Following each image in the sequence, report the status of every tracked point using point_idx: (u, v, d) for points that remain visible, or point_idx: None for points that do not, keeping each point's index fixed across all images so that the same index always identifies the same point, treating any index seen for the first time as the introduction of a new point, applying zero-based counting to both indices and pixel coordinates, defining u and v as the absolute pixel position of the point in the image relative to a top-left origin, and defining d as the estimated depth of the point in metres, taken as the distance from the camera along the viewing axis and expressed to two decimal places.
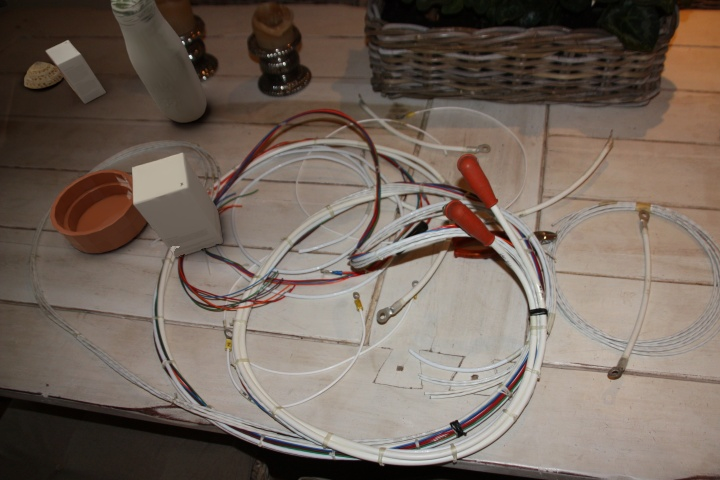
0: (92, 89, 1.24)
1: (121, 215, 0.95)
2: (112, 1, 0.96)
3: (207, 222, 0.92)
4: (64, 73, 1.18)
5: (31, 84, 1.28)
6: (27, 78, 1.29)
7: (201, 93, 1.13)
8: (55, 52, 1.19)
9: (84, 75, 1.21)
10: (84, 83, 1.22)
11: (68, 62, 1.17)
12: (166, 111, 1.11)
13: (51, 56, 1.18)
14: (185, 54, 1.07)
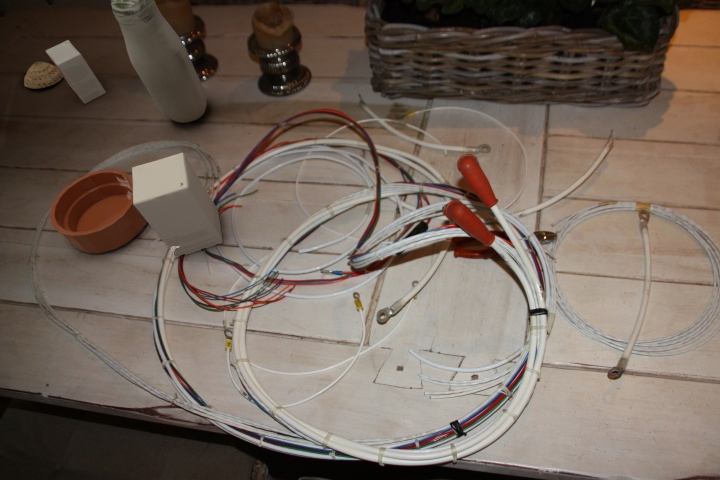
0: (92, 89, 1.24)
1: (121, 215, 0.95)
2: (112, 1, 0.96)
3: (207, 222, 0.92)
4: (64, 73, 1.18)
5: (31, 84, 1.28)
6: (27, 78, 1.29)
7: (201, 93, 1.13)
8: (55, 52, 1.19)
9: (84, 75, 1.21)
10: (84, 83, 1.22)
11: (68, 62, 1.17)
12: (166, 110, 1.11)
13: (51, 56, 1.18)
14: (185, 54, 1.07)
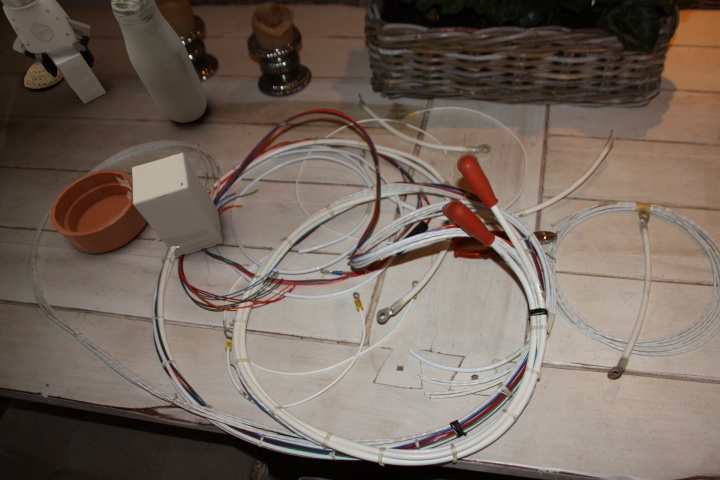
0: (92, 89, 1.24)
1: (121, 215, 0.95)
2: (112, 1, 0.96)
3: (207, 222, 0.92)
4: (64, 73, 1.18)
5: (31, 84, 1.28)
6: (27, 78, 1.29)
7: (201, 93, 1.13)
8: (55, 52, 1.19)
9: (84, 75, 1.21)
10: (84, 83, 1.22)
11: (68, 62, 1.17)
12: (166, 110, 1.11)
13: (51, 56, 1.18)
14: (185, 54, 1.07)
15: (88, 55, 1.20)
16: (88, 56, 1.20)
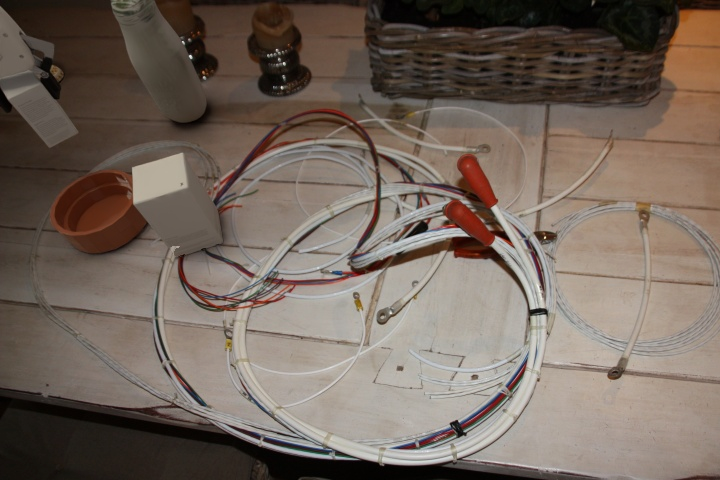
0: (59, 129, 0.92)
1: (121, 215, 0.95)
2: (112, 1, 0.96)
3: (207, 222, 0.92)
4: (18, 109, 0.86)
5: None
6: None
7: (201, 93, 1.13)
8: (7, 80, 0.87)
9: (47, 111, 0.89)
10: (48, 121, 0.90)
11: (24, 94, 0.85)
12: (166, 110, 1.11)
13: (1, 86, 0.86)
14: (185, 54, 1.07)
15: (52, 83, 0.88)
16: (52, 85, 0.88)
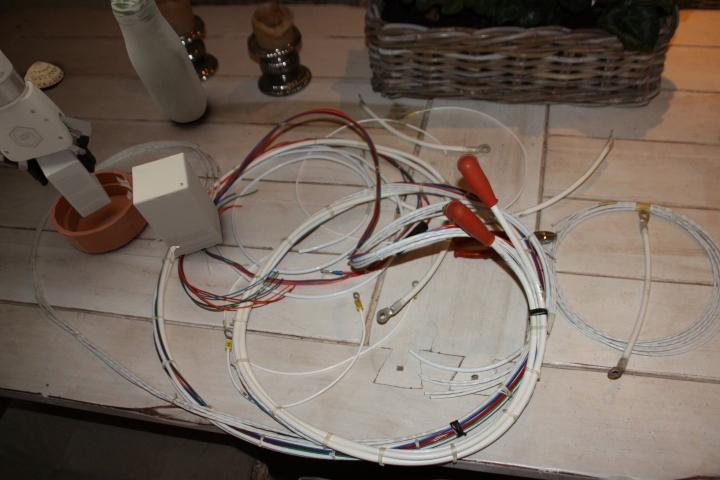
0: (93, 200, 0.94)
1: (121, 215, 0.95)
2: (112, 1, 0.96)
3: (207, 222, 0.92)
4: (56, 185, 0.88)
5: None
6: (27, 78, 1.29)
7: (201, 93, 1.13)
8: (45, 156, 0.89)
9: (83, 185, 0.91)
10: (83, 194, 0.92)
11: (62, 172, 0.87)
12: (166, 110, 1.11)
13: (39, 162, 0.88)
14: (185, 54, 1.07)
15: (88, 158, 0.90)
16: (88, 159, 0.90)
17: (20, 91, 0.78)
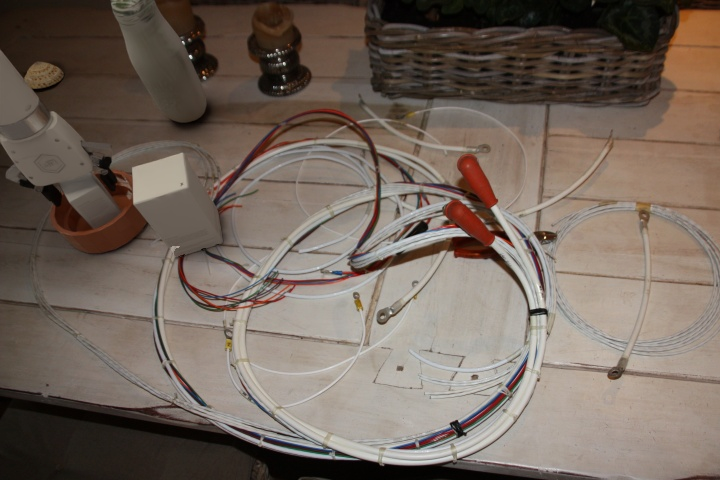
0: None
1: (121, 215, 0.95)
2: (112, 1, 0.96)
3: (207, 222, 0.92)
4: (78, 210, 0.93)
5: (31, 84, 1.28)
6: (27, 78, 1.29)
7: (201, 93, 1.13)
8: (67, 181, 0.94)
9: (103, 208, 0.96)
10: (103, 217, 0.97)
11: (83, 197, 0.92)
12: (166, 110, 1.11)
13: (62, 187, 0.94)
14: (185, 54, 1.07)
15: (110, 178, 0.94)
16: (110, 179, 0.95)
17: (46, 122, 0.82)
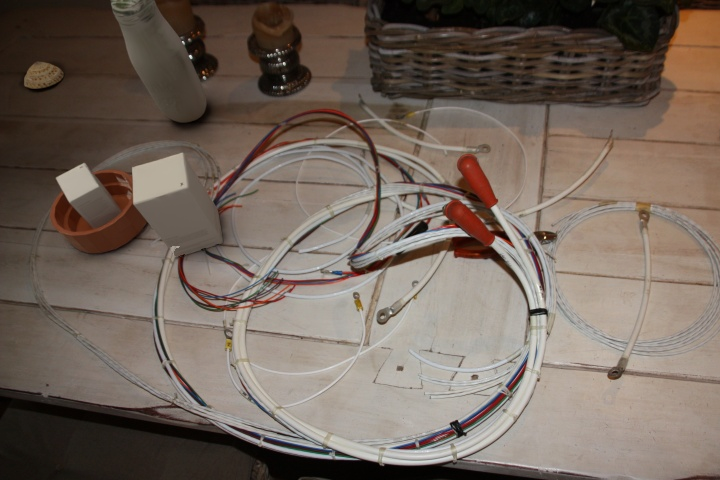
0: None
1: (121, 215, 0.95)
2: (112, 1, 0.96)
3: (207, 222, 0.92)
4: (78, 210, 0.93)
5: (31, 84, 1.28)
6: (27, 78, 1.29)
7: (201, 93, 1.13)
8: (67, 181, 0.94)
9: (103, 208, 0.96)
10: (103, 217, 0.97)
11: (83, 197, 0.92)
12: (166, 110, 1.11)
13: (62, 187, 0.94)
14: (185, 54, 1.07)
15: None
16: None
17: None
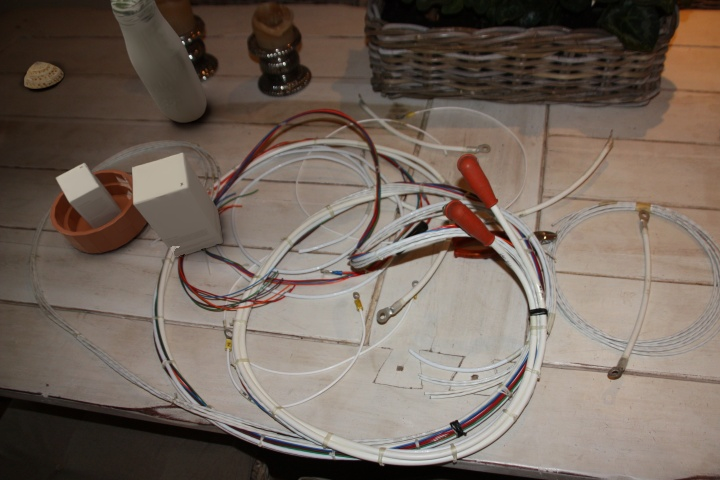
0: None
1: (121, 215, 0.95)
2: (112, 1, 0.96)
3: (207, 222, 0.92)
4: (78, 210, 0.93)
5: (31, 84, 1.28)
6: (27, 78, 1.29)
7: (201, 93, 1.13)
8: (67, 181, 0.94)
9: (103, 208, 0.96)
10: (103, 217, 0.97)
11: (83, 197, 0.92)
12: (166, 110, 1.11)
13: (62, 187, 0.94)
14: (185, 54, 1.07)
15: None
16: None
17: None
